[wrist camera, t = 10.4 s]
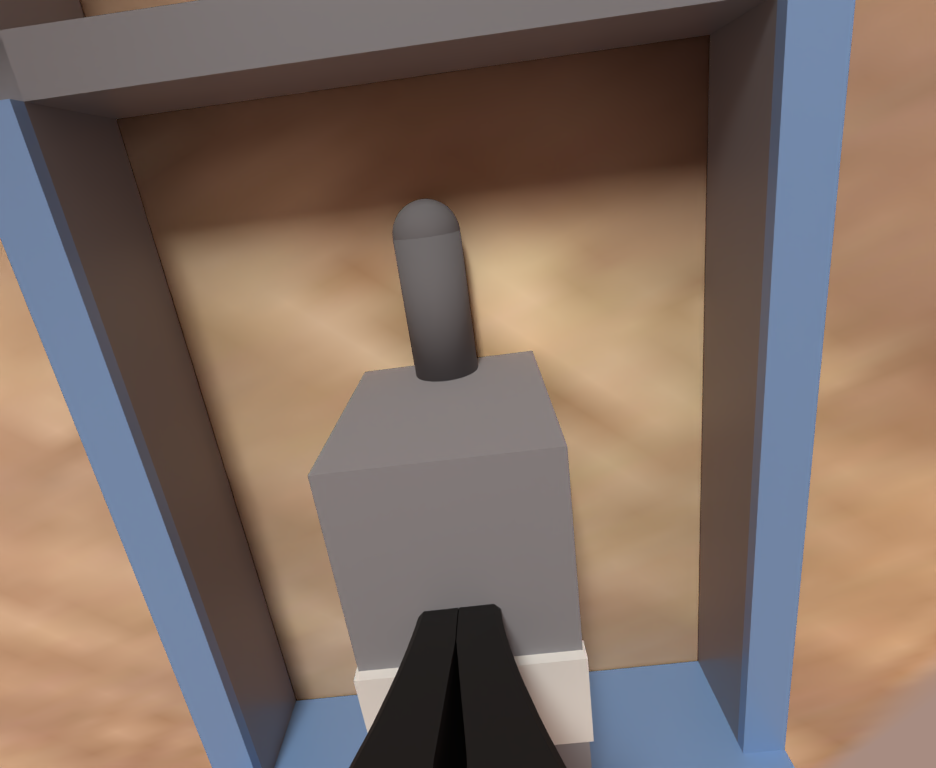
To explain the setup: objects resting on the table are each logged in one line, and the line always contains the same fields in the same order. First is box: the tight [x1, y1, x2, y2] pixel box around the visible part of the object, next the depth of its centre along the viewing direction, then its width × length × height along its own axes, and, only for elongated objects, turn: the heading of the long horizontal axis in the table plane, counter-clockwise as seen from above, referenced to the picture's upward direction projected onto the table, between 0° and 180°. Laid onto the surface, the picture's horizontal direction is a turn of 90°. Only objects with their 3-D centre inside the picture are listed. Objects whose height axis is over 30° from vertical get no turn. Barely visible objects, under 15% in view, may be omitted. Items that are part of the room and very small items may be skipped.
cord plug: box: [308, 199, 594, 768], centre depth 11 cm, size 4×11×5 cm, turn 8°
